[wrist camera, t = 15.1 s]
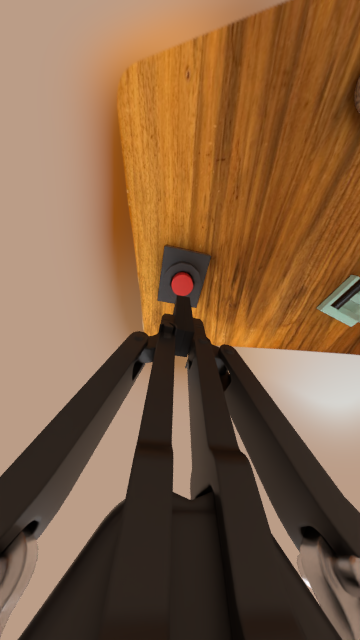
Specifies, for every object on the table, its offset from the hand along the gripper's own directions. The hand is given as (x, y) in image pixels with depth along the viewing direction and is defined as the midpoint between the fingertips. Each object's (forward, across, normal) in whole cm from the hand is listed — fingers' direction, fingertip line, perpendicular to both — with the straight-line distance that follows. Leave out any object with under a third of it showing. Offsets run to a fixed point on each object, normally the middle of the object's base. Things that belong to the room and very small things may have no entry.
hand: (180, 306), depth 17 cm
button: (+10, 0, 0) cm, 10 cm away
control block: (+14, 0, 0) cm, 14 cm away
